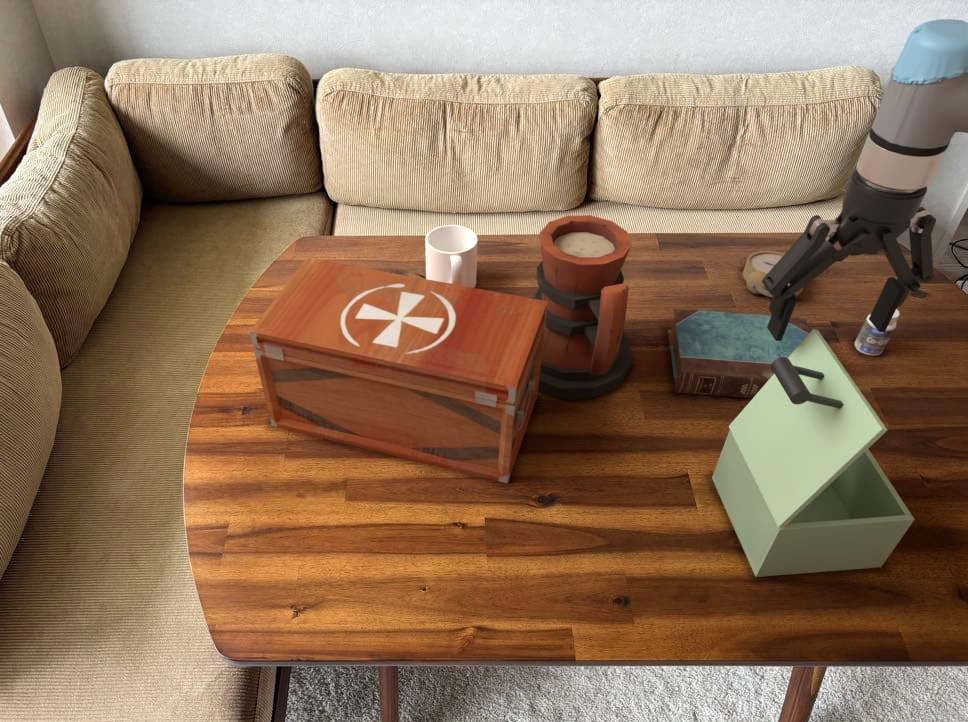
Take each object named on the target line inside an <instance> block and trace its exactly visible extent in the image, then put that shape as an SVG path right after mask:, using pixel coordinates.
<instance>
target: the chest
mask: <svg viewBox="0 0 968 722" xmlns="http://www.w3.org/2000/svg"><path fill="white" fill-rule="evenodd" d="M711 479H712V482H713V484H714V486H715V489H716V491H717V493H718V496H719V498H720V500H721V502H722V504H723V506H724V509H725V512H726V513H727V516H728V518H729V521H730V523H731V525H732V527H733V530H734V531H735V534H736V537H737V539H738V540H739V543H740V546H741V547H742V550H743V552H744V554H745V556H746V559H747V561H748V564H749V565H750V567H751V570H752V572H753V575H754V576H755V578H760V577H773V576H775V577H776V576H783V575H784V576H787V575H788V576H789V575H799V574H812V573H825V572H837V571H850V570H851V571H852V570H862V569H864V570H865V569H875V568H882V567H883V565H884V564H885V562H886V561H887V559H888V558H889V557H890V556H891V554H892V553H893V551H894V549H895V548H896V547H897V546H898V544H899V543H900V541H901V540H902V538H903V537H904V536H905V534H906V532H907V531H908V530H909V528H910V527H911V526H912V524H913V523H914V521H915V517H914V516H913V515H912V513H911V512H910V510H909V509H908V507H907V505H906V504H905V502H904V501H903V500H902V498H901V496H900V495H899V493H898V492H897V490H896V488H895V487H894V485H893V484H892V483H891V481H890V479H889V478H888V477H887V475H886V473H885V472H884V470H883V469H882V468H881V466H880V464H879V463H878V461H877V459H875V457H874V455H873V454H872V452H871V451H870V449H869V448H868V449H867V450H866V451H865V452H864V453H863V454H862V455H861V456H860V457H858V458H857V459H856V460H855V461H854V462H853V463H852V464H851V465H850V466H849V467H848V468H847V469H846V470H845V471H844V472H842V473H841V474H840V475H839V476H838V477H837V478H836V479H835V480H834V481H833V482H832V483H831V484H830V485H829V486H827V487H826V488H825V489H824V490H823V491H822V492H821V493H820V494H819V495H818V496H817V497H816V498H815V499H814V500H813V501H811V502H810V503H809V504H808V505H807V506H806V507H805V508H804V509H803V510H802V511H801V512H800V513H799V514H798V515H796V516H795V517H794V518H793V519H792V520H791V521H790V522H789V523H788V524H787V525H786V526H785V527H784V528H781V527H778V526H777V523H776V521H775V519H774V517H773V515H772V513H771V511H770V509H769V507H768V505H767V503H766V501H765V499H764V497H763V495H762V493H761V491H760V489H759V487H758V485H757V483H756V481H755V479H754V477H753V475H752V473H751V471H750V469H749V467H748V465H747V463H746V461H745V459H744V457H743V455H742V453H741V451H740V449H739V447H738V445H737V443H736V441H735V439H734V437H733V435H732V433H731V430H730V429H729V431H728V434H727V436H726V438H725V442H724V445H723V447H722V449H721V452H720V455H719V457H718V459H717V462H716V465H715V468H714V471H713V473H712V476H711Z"/></svg>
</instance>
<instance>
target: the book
mask: <svg viewBox="0 0 968 722" xmlns="http://www.w3.org/2000/svg"><path fill="white" fill-rule="evenodd" d="M672 310H673V321H672V326H671V329H667V335H668V342H669V343H668V344H669V351H670V355H671V356H670V358H671V366H672V374H673V381H674V382H673V383H674V388H675V393H678V394H679V393H680V394H688V395H702V396H712V397H713V396H715V397H725V398H726V397H727V398H738V399H739V398H740V399H749V400H752V399H753V398H754V396H755V395H756V394H757V393H758V392H759V391H760V390H761V388H762V387H763V386H764V385H765V384H766V383H767V381H768V380H769V379H770V378H771V377H772V376H773V375H774V372H773V370H772V368H771V364H772V362H773V361H774V360H776V359H778V358H780V357H786V358H788V357H789V356H790V355H791V354H792V353H793V351H794V350H795V349H796V348H797V347H798V346H799V344H800V343H801V342H802V341H803V340H804V339H805V338H806V336H807V335H808V334H809V333H810V332H811V330H810V328H809V325H808V321H807V319H806V317H798V316H797V317H796V316H791V317H790V320H789V323H788V325H787V328H786V330H785V333H784V336H783V338H782V340H781V341H776V340H775V339H774V337H773V336H772V334H771V333H770V331H769V330H768V328H767V326H768V324H769V321H770V318H771V315H772V314H769V315H768V314H755V313H739V312H726V311H715V310H714V311H712V310H697V309H685V308H683V309H682V308H673V309H672Z"/></svg>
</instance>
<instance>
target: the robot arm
mask: <svg viewBox="0 0 968 722" xmlns="http://www.w3.org/2000/svg"><path fill="white" fill-rule="evenodd" d="M956 133H964V134H965V133H966V134H968V21H965V20H962V19H954V18H953V19H952V18H942V19H933V20H928V21H926V22H922V23H920V24H919V25H917V26H916V27H914V29H912V31H911V32H910V34H909V35H908V37H907V39H906V41H905V44H904V46H903V48H902V50H901V52H900V54H899V57H898V58H897V61H896V62H895V65H894V66H893V67H892V69H891V74H890V77H889V80H888V83H887V86H886V88H885V90H884V94H883V96H882V99H881V101H880V104H879V107H878V109H877V112H876V115H875V117H874V120H873V123H872V125H871V128H870V130H869V132H868V134H867V137H866V140H865V142H864V146H863V148H862V150H861V152H860V155H859V158H858V161H857V163H856V170H855V171H854V172H853V173H852V175H851V177H850V180H849V183H848V185H847V188H846V190H845V193H844V196H843V198H842V207H841V208H842V209H841V211H840V213H839V215H837V217H836V218H835V219H823V218H822V217H821V216H820V215H819V214H816V215H813V216H812V217H811V218H810V219H809V221H808V223H807V225H806V228H805V229H804V231H803V233H802V234H800V236H799V237H798V238H797V239H796V241H795V242H794V243H793V244H792V245H791V246H790V247H789V248H788V250H787V251H786V252H785V254H784V256H783V257H782V258H781V259H780V260H779V261H778V262H777V263H776V265H775V266H774V267H773V268H772V269H771V270H770V271H769V273H768V274H767V275H766V276H765V277H764V278H763V280H762V282H763V284H764V285H765V287H766V288H767V290H768V291H769V293H770V294H771V295H773V297H771V301H770V304H769V307H768V310H769V312H770V313H771V314H770V315H771V318H770V321H769V324H768V326H767V328H768V330H769V331H770V333H771V334H772V336H773V337H774V339H775V340H776V341H781V340H782V338H783V336H784V333H785V330H786V328H787V325H788V323H789V320H790V317H792V316H793V315H792V314H793V312H794V309H795V306H796V304H797V302H798V296H797V297H796V296H795V295H794V294H795V293H797V292H798V291H799V290H800V289H802V288H803V287H804V288H805V287H806V286H807V285H809V284H810V283H811V282H812V281H813V280H815V279H817V277H819V276H820V275H821V274H822V273H823V272H825V271H826V270H827V269H829V268H830V267H831V266H833V265H834V264H835V263H841V262H843V261H844V260H845V259H847V258H848V257H849V256H851V257H854V256H855V257H856V256H860V255H865V254H867V255H878V253H879V252H880V251H882V253H883V254H884V256H885V257H886V259H887V261H888V263H889V265H890V267H891V268H892V270H893V272H894V274H895V276H896V277H897V278H896V277H894V276H891V277H888V278H886V279H887V280H886V281H885V284H884V286H883V288H882V289H881V291H880V294H879V296H878V298H877V301H876V302H875V305H874V307H873V308H872V311H871V313H870V314H871V315H870V314H869V315H870V317H869V320H870V321H871V323H872V324H873V325H874V326H875V327H876V329H877V330H878V331H879V332H885V331H886V329H887V327H888V325H889V323H890V321H891V319H892V317H893V315H894V313H895V311H896V309H897V310H898V308H899V307H900V308H901V307H902V305H903V304H904V303H905V301H906V300H907V299H906V298H907V297H908V296H909V293H915V292H917V291H918V290H920V288H921V284H920V283H921V282H923V283H925V284H927V283H930V282H931V281H932V280H933V279H934V259H933V243H932V241H933V240H932V233H933V230H934V228H935V225H936V222H937V219H936V217H934V215H933V214H931V213H930V212H929V211H928V210H927V209H926V208H925V207H923V206H921V205H922V202H923V200H924V198H925V196H926V195H927V194H926V193H927V191H928V186H930V185H931V183H932V181H933V180H934V178H935V175H936V173H937V171H938V169H939V167H940V165H941V162H942V160H943V158H944V155H945V154H946V151H947V149H948V147H949V145H950V143H951V140H952V138H953V137H954V135H955V134H956ZM907 230H908V233H909V234H908V235H909V245H910V259H911V267H910V264H909V263H908V262H907V260H906V257H905V255H904V254H903V250H902V248H901V246H900V244H899V242H898V240H897V238H899V237H900V236H901V235H902V234H903V233H905V232H906V231H907ZM837 242H838V245H839V246H840V248H839V249H837V248H836V247H835V244H837ZM789 283H790V285H789V286H788V284H789ZM804 288H803V289H804Z"/></svg>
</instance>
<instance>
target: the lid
mask: <svg viewBox="0 0 968 722" xmlns="http://www.w3.org/2000/svg"><path fill="white" fill-rule="evenodd" d="M771 368H772V370H773V372H774V375H773V376H772V377H771V378H770V379H769V380H768V381H767V383H766V384H765V385H764V386H763V387H762V388H761V390H760V391H759V392H758V393H757V394H756V395H755V396H754V398H753V399H750V401H749V402H748V403H747V405H746V406H745V407H744V408H743V409H742V410H741V411H740V413H738V414H737V416H736V417H735V418H734V419H733V421H732V422H731V423H730V424H729V425H728V428H729V431H730V430H731V433H732V435H733V437H734V439H735V441H736V443H737V445H738V447H739V449H740V451H741V453H742V455H743V457H744V459H745V461H746V463H747V465H748V467H749V469H750V471H751V473H752V475H753V477H754V479H755V481H756V483H757V485H758V487H759V489H760V491H761V493H762V495H763V497H764V499H765V501H766V503H767V505H768V507H769V509H770V511H771V513H772V515H773V517H774V519H775V521H776V523H777V526H778V527H781V528H784V527H785V526H786V525H787V524H788V523H789V522H790V521H791V520H792V519H793V518H794V517H795V516H796V515H798V514H799V513H800V512H801V511H802V510H803V509H804V508H805V507H806V506H807V505H808V504H809V503H810V502H811V501H813V500H814V499H815V498H816V497H817V496H818V495H819V494H820V493H821V492H822V491H823V490H824V489H825V488H826V487H827V486H829V485H830V484H831V483H832V482H833V481H834V480H835V479H836V478H837V477H838V476H839V475H840V474H841V473H842V472H844V471H845V470H846V469H847V468H848V467H849V466H850V465H851V464H852V463H853V462H854V461H855V460H856V459H857V458H858V457H860V456H861V455H862V454H863V453H864V452H865V451H866V450H867V449H869V448H871V446H872V445H874V444H875V443H876V442H877V441H878V440H879V439H880V438H881V437H883V435H885V434H886V432H887V431H888V428H887V427H886V426H885V424H884V423H883V421H882V420H881V419H880V417H879V416H878V414H877V413H876V411H875V410H874V408H873V407H872V406H871V405H870V403H869V402H868V400H867V399H866V397H865V396H864V394H863V393H862V391H861V390H860V389H859V386H857V384H856V383H855V381H854V380H853V378H852V377H851V376H850V374H849V372H847V370H846V368H845V367H844V365H843V364H842V363H841V361H840V360H839V359H838V357H837V355H836V354H835V352H834V351H833V350H832V348H831V347H830V345H829V344H828V343H827V340H825V338H824V337H823V335H822V334H821V333H820V331H819V330H818V329H816V328H812V329H811V330H810V333H809V334H808V335H807V336H806V338H805V339H804V340H803V341H802V342H801V343H800V344H799V346H798V347H797V348H796V349H795V350H794V351H793V353H792V354H791V355H790V356H789V357H788V358H786V357H780V358H778V359H776V360H774V361H773V362H772V364H771Z"/></svg>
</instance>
